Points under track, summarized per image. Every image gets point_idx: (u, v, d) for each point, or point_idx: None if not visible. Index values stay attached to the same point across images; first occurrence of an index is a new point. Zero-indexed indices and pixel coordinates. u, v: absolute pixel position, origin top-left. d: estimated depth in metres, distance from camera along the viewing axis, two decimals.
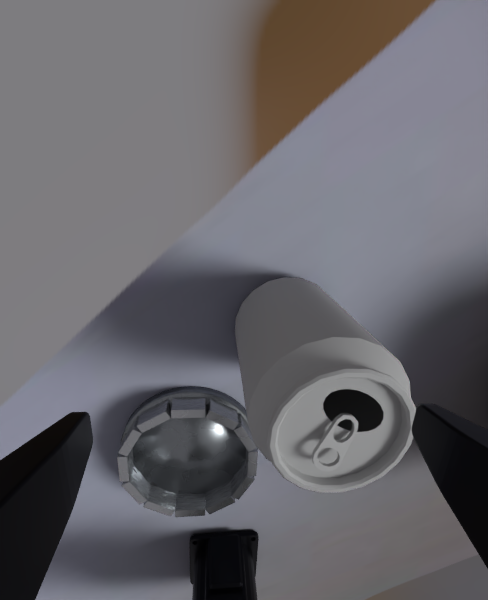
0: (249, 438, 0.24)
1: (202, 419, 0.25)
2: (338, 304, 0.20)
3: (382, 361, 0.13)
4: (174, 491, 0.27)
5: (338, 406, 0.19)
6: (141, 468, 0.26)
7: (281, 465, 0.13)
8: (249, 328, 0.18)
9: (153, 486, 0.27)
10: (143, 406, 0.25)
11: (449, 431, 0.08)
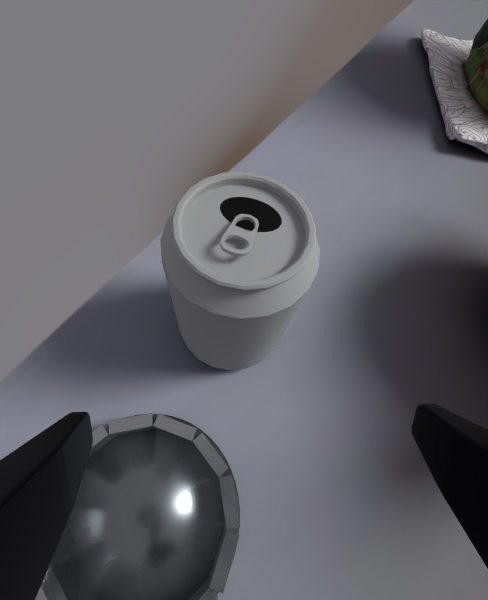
0: (215, 452, 0.18)
1: (154, 453, 0.19)
2: None
3: None
4: None
5: (285, 325, 0.18)
6: (62, 573, 0.16)
7: (190, 256, 0.13)
8: None
9: None
10: None
11: (449, 431, 0.08)
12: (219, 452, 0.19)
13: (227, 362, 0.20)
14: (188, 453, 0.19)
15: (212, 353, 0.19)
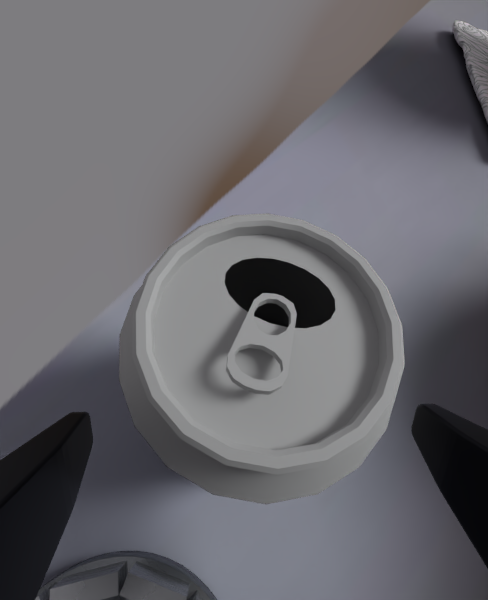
0: None
1: None
2: (280, 325, 0.16)
3: None
4: None
5: None
6: None
7: (167, 398, 0.06)
8: None
9: None
10: None
11: (449, 431, 0.08)
12: None
13: None
14: None
15: None
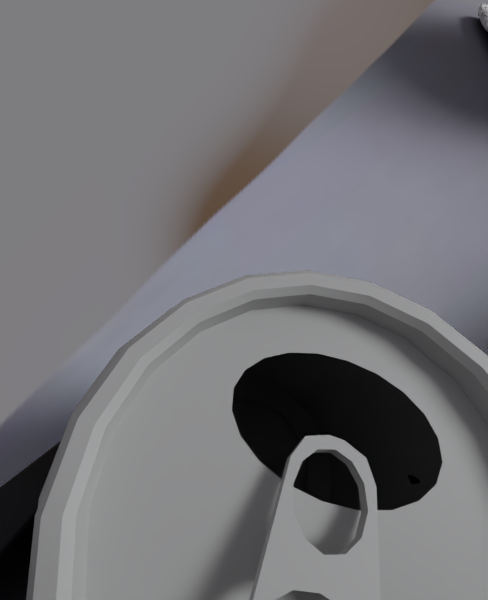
0: None
1: None
2: (299, 381, 0.12)
3: None
4: None
5: None
6: None
7: None
8: None
9: None
10: None
11: None
12: None
13: None
14: None
15: None
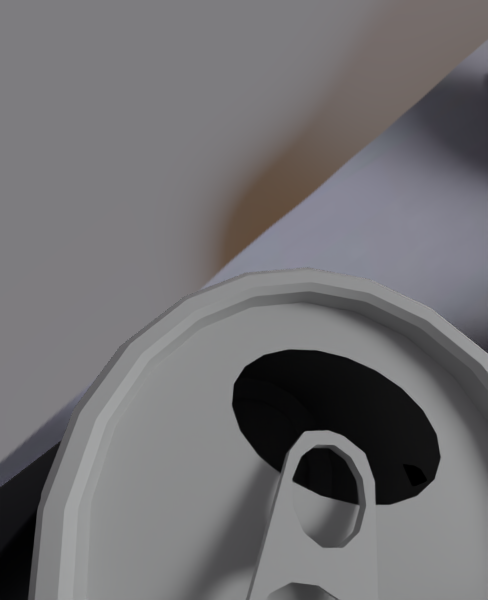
0: None
1: None
2: (300, 379, 0.12)
3: None
4: None
5: None
6: None
7: None
8: None
9: None
10: None
11: None
12: None
13: None
14: None
15: None
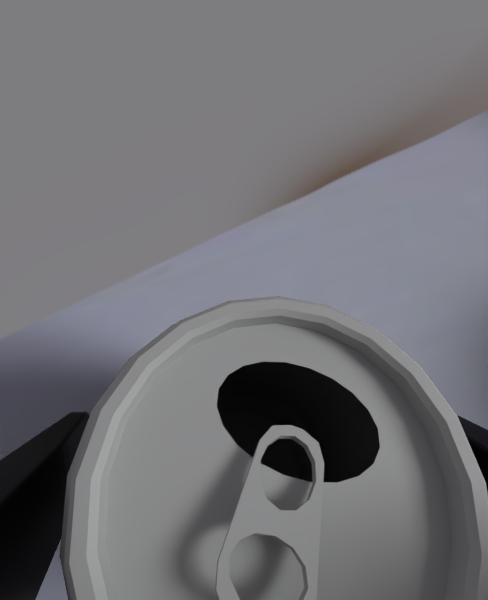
0: None
1: None
2: (290, 388, 0.14)
3: None
4: None
5: None
6: None
7: None
8: None
9: None
10: None
11: None
12: None
13: None
14: None
15: None
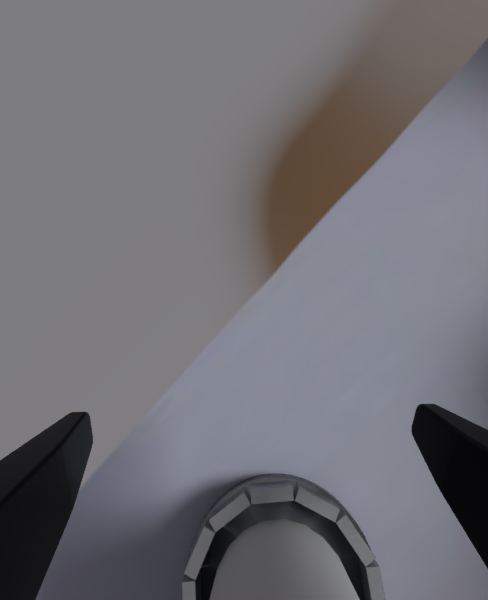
0: (361, 538, 0.17)
1: (290, 520, 0.19)
2: (305, 543, 0.16)
3: None
4: None
5: None
6: None
7: None
8: None
9: None
10: (215, 504, 0.20)
11: (449, 431, 0.08)
12: (357, 528, 0.19)
13: None
14: (325, 525, 0.19)
15: None
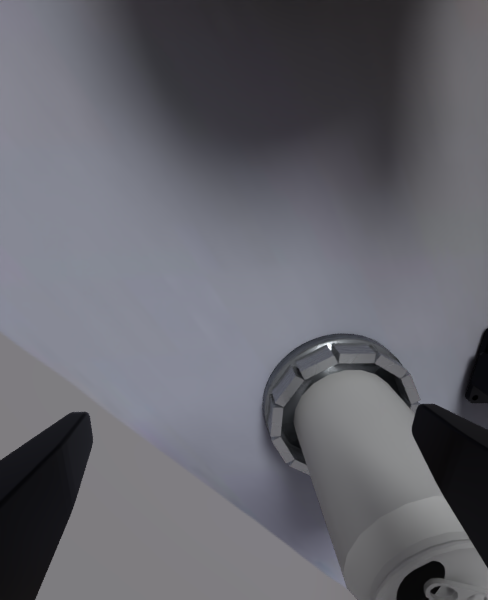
0: (318, 363, 0.21)
1: (297, 396, 0.23)
2: (311, 426, 0.20)
3: (362, 567, 0.13)
4: None
5: None
6: None
7: None
8: None
9: None
10: None
11: (449, 431, 0.08)
12: (313, 349, 0.22)
13: None
14: None
15: None
